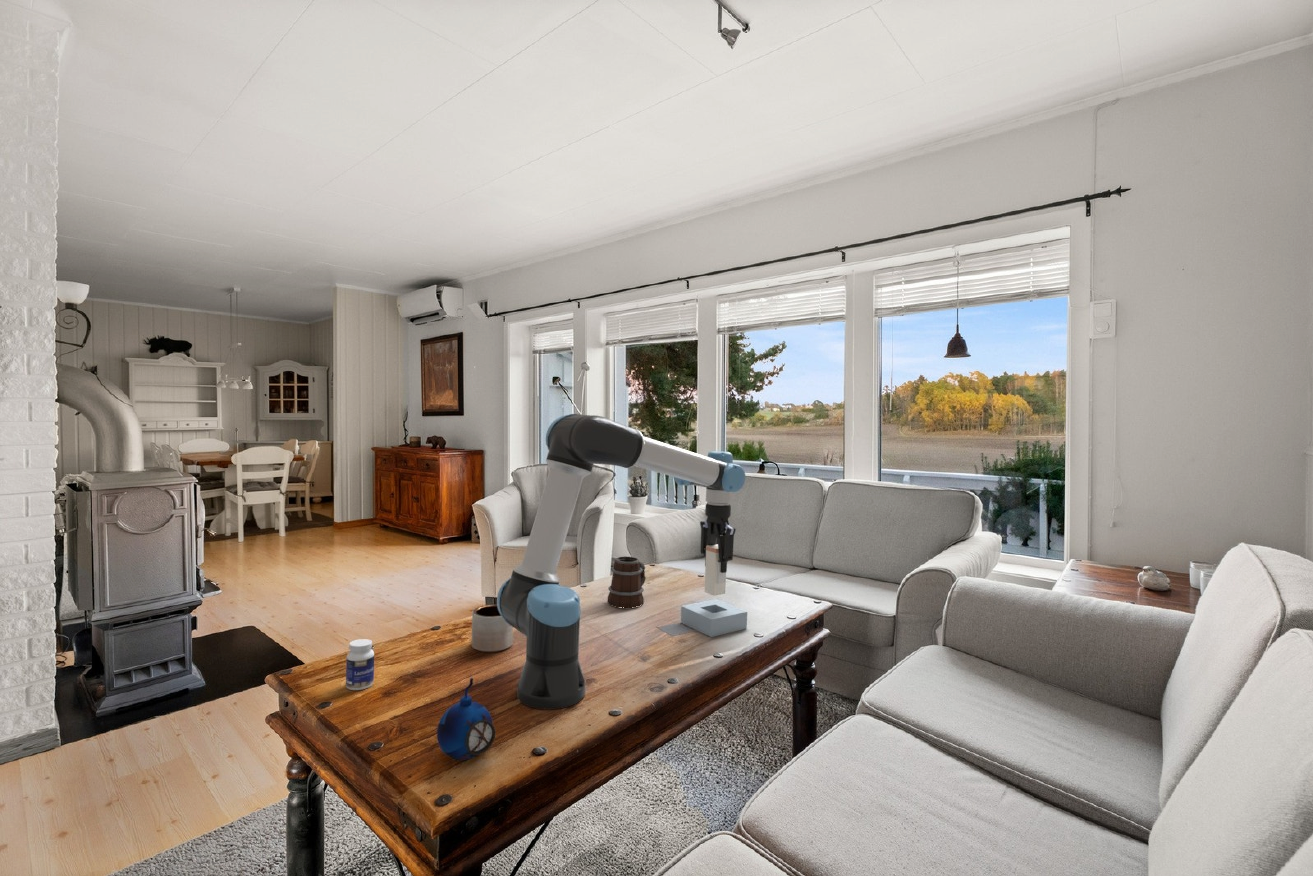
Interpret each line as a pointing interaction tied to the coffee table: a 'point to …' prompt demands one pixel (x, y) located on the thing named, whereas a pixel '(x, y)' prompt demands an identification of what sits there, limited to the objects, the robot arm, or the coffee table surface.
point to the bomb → (465, 729)
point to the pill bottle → (360, 665)
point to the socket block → (713, 617)
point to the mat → (675, 629)
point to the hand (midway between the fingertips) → (715, 580)
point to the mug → (627, 583)
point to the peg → (713, 572)
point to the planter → (490, 630)
